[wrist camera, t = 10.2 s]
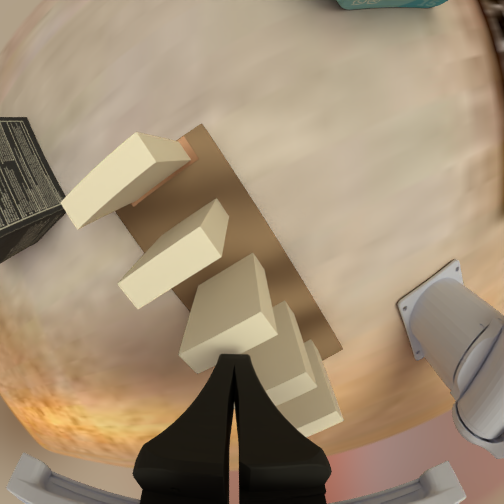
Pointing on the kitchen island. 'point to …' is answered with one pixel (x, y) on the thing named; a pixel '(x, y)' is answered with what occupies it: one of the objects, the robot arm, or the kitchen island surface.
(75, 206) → the domino
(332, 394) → the domino
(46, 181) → the small box
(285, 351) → the domino
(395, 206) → the kitchen island surface
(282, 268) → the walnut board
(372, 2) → the data package
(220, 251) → the domino
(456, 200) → the kitchen island surface
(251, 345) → the domino
